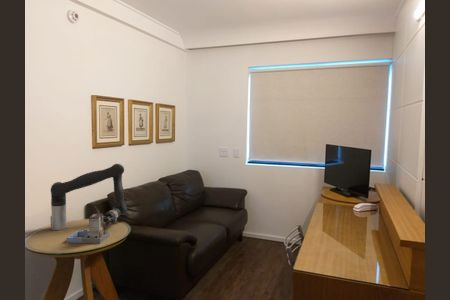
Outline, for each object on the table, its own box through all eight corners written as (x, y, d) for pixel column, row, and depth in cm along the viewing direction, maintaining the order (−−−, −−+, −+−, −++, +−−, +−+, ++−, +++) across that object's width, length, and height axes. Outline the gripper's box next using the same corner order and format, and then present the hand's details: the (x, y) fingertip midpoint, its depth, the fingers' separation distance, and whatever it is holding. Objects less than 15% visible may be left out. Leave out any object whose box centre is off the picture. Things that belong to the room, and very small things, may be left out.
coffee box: (94, 237, 202) (93, 213, 201) (104, 236, 203) (103, 213, 202) (89, 242, 193) (88, 217, 192) (99, 242, 194) (98, 217, 193)
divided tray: (66, 242, 193) (66, 235, 192) (77, 235, 206) (77, 229, 205) (100, 243, 191) (100, 237, 191) (109, 236, 204) (109, 230, 204)
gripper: (101, 210, 219) (89, 217, 203) (120, 211, 218) (110, 218, 202) (101, 221, 219) (90, 228, 203) (120, 221, 219) (110, 229, 203)
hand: (100, 223), depth 203 cm, fingers open, 8 cm apart
